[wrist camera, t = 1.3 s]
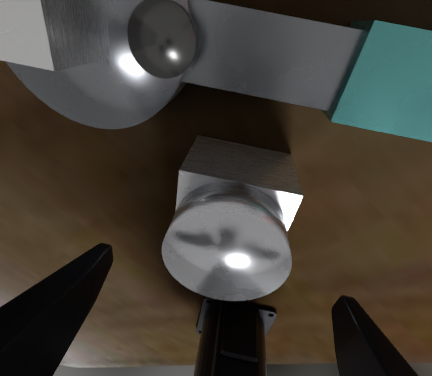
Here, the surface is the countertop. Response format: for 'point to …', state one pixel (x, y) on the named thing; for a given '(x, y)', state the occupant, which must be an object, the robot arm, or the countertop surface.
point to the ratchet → (215, 60)
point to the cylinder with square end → (232, 220)
